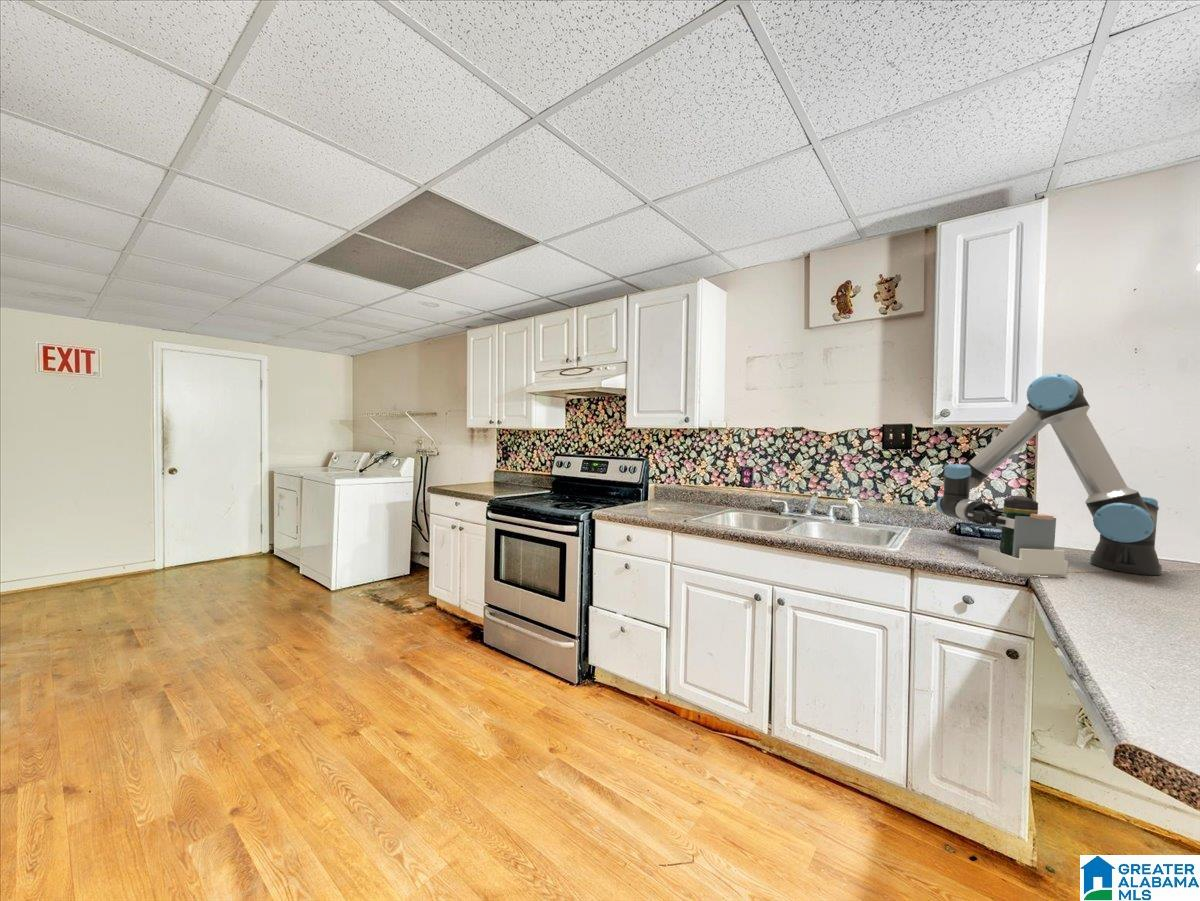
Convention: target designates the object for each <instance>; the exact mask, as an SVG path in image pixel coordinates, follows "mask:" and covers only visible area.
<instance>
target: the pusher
mask: <svg viewBox="0 0 1200 901" xmlns="http://www.w3.org/2000/svg"><path fill="white" fill-rule="evenodd" d="M1056 527H1057V517H1055V516H1054V515H1049V514H1044V513H1043V514H1042V513H1040V514H1039V513H1038V514H1030V517H1023V516H1015V524H1014V539H1013V554H1012V556H1014V557H1019V551H1020V549H1048V550H1055V543H1056V542H1055V541H1056Z"/></svg>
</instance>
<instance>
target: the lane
mask: <svg viewBox="0 0 1200 901" xmlns="http://www.w3.org/2000/svg"><path fill="white" fill-rule="evenodd" d="M1065 557H1066V550H1063V549H1054V550H1048V549H1020V551H1019V558H1016V557H1012V556H1009V555H1006V554H1003V553H1001V552H999V551H997V550H994V549H990V548H987V547H983V546H978V556H977V562H978V563H980V562H981V563H980V564H982V563H984V564H983V565H985V564H987V565H986V566H988V565H990V566H992V567H991V568H993V567H995V568H994V569H996V568H997V569H996V570H999V571H1001V572H1004V573H1007V574H1010V575H1012V576H1015V577H1020V578H1021V577H1022V578H1023V577H1024V578H1025V577H1028V578H1033V577H1032V576H1033V575H1040V576H1048V577H1065V578H1064V579H1067V578H1068V569H1069V568H1068V565H1069V561H1068V560H1066V558H1065ZM990 566H989V567H990ZM1048 577H1047V578H1048Z"/></svg>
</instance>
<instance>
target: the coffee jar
mask: <svg viewBox="0 0 1200 901" xmlns="http://www.w3.org/2000/svg"><path fill="white" fill-rule="evenodd" d="M1002 511H1003V513H1002V514H1003V517H1006V518H1010V519H1015V516H1023V517H1030V514H1039V503H1038V502H1037V501H1036V500H1033V499H1031V498H1029V497H1027V496H1023V495H1011V496H1008V497H1005V498H1004V500H1003V510H1002ZM1013 539H1014V529H1012V528H1008V527H1004V526H1001V533H1000V543H999V551H1000V553H1003V554H1006V555H1009V556H1012V554H1013ZM1012 557H1014V556H1012ZM1016 558H1019V557H1016Z"/></svg>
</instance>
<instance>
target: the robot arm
mask: <svg viewBox="0 0 1200 901" xmlns="http://www.w3.org/2000/svg"><path fill="white" fill-rule="evenodd" d="M1084 393H1085V392H1084V388H1083V387H1082V385H1081V383H1080V382H1079V381H1078V380H1076V379H1073V377H1071V376H1069V375H1067V374H1063V373H1049V374H1045V375H1041V376H1039V377H1037V378H1036V379H1035V380H1033V381H1032V382H1031V383H1030V384H1029V386H1028V387H1027V390H1026V399H1027V401H1028V403H1027V404H1026V406H1025V410H1024V411H1023V412H1022V413H1021V414H1020V415H1019V416H1018V417H1017V418H1016V419H1014V421H1013V422H1011V423H1010V424H1009V425H1008V426H1007V427H1006V428H1005V429H1003V431H1002V432H1001V433H999V434H998V435H997V436H996V437H994V438H993V440H992V441H991V442H990V443H988V444H987V445H986V446H985V447H983V449H981V451H980V452H978V453H977V454H976V455H975V456H974V457H973V458H972V459H971V460H970V461H969V462H967V463H966V464H957V463H955V464H953V463H951V464H949V463H948V464H947V465H945V469H944V473H943V475H944V480H943V481H944V482H943V483H944V484H943V495H941V496H939V498H938V499H937V501H936V502H935V507H936V510H937V511H938V512H939V513H941V515H944V516H947V517H950V518H955V519H958V520H961V521H962V520H963V521H966V523H968V524H970V523H974V524H978V525H987V524H989V523H990V526H991V527H997V526H1001V527H1002V526H1004V527H1008V528H1012V529H1014V524H1015V519H1010V518H1006V517H1003V510H999V509H995V508H993V507H992V506H993V505H991V504H989V503H988V502H984V501H979V500H974V499H970V498H969V497H970V489H975V488H977V487H979V486H980V485H981V484H982V483H983V482H984V480H985V479H986V478H987V477H988V476H990V475H991V473H993V472H994V471H995V470H996V469H997V468H999V467H1000V466H1001V465H1002V464H1003V463H1005V461H1007V460H1008V459H1009V458H1010V457H1011V456H1012V455H1013V454H1015V453H1016V452H1018V451H1019V450H1020V449H1021V448H1022V447H1023V446H1024V445H1025V444H1026V443H1027V442H1029V441H1030V440H1031V439H1032V438H1033V437H1034V436H1036V435H1037V434H1038V433H1039V432H1040V431H1041V430H1042V429H1044V428H1045V427H1046V426H1047V425H1050V426H1051V428H1052V430H1053V431H1054V434H1055V435H1056V436H1057V439H1058V440H1059V443H1060V444H1061V446H1062V448H1063V451H1064V452H1065V454H1066V456H1067V457H1068V460H1069V461H1070V463H1071V464H1072V467H1073V469H1074V470H1075V472H1076V475H1077V476H1078V478H1079V480H1080V482H1081V484H1082V485H1083V488H1084V489H1085V491H1086V494H1087V495H1088V497H1087V498H1086V500H1085V505H1086V507H1087V509H1088V511H1089V513H1090V514H1091V516H1092V523H1093V526H1094V529H1095V530H1097V532H1098V533H1099V541H1098V543H1097V544H1096V546H1095V548H1094V552H1093V553H1092V554H1091V555H1090V559H1089V563H1090V564H1091V565H1093V566H1096V567H1099V568H1103V569H1107V570H1111V571H1116V572H1120V573H1126V574H1134V575H1145V576H1160V575H1162V569H1163V567H1162V565H1161V564H1160V561H1159V557H1158V554H1157V551H1156V548H1155V546H1156V535H1157V525H1158V524H1157V523H1158V522H1157V521H1158V511H1159V508H1160V507H1159V502H1158V500H1157V499H1155V498H1153V497H1147V496H1146V497H1145V496H1141V494H1140V493H1139V490H1136V489H1133V488H1130V487H1129V486H1127V483H1126V482H1125V480H1124V479H1123V476H1122V475H1121V473H1120V471H1119V469H1118V467H1117V466H1116V464H1115V463H1114V462H1115V461H1114V460H1113V459H1112V457H1111V455H1110V454H1109V452H1108V450H1107V448H1106V446H1105V445H1104V442H1103V441H1102V439H1101V437H1100V436H1099V433H1098V432H1097V430H1096V429H1095V427H1094V425H1093V423H1092V421H1091V419H1090V418H1089V416H1088V412H1089V409H1090V408H1091V406H1090V404H1089V402H1088V401H1087V399H1086V396H1085V395H1084Z"/></svg>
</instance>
